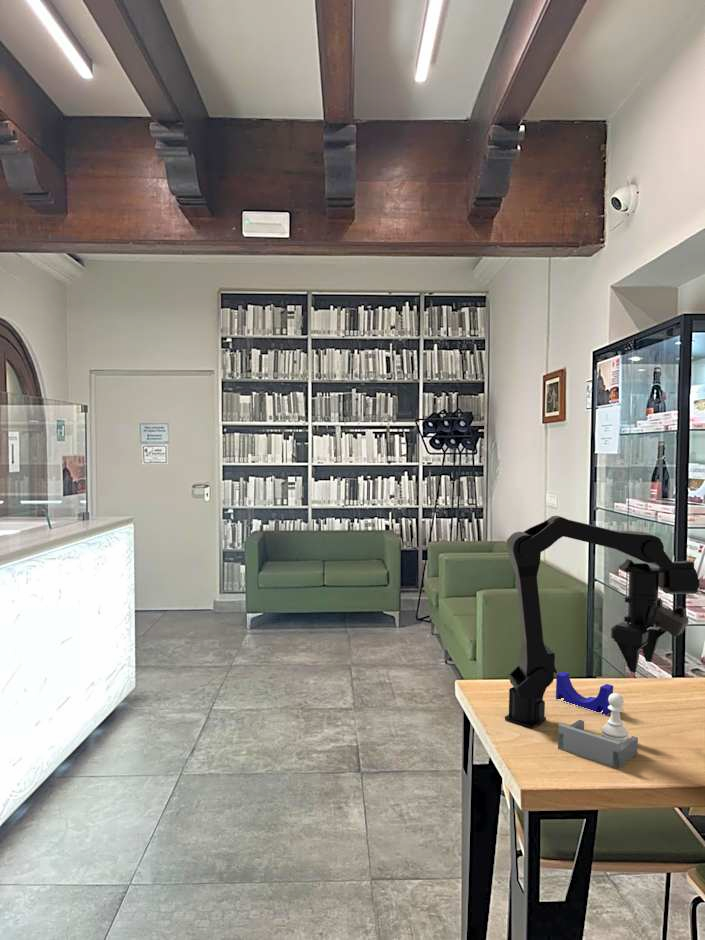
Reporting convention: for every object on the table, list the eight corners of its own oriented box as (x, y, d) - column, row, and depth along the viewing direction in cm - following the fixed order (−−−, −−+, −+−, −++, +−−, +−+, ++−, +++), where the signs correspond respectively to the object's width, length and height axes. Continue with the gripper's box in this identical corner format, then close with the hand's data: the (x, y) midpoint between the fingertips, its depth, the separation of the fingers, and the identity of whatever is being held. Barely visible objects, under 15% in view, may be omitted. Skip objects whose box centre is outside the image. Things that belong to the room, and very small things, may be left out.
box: (557, 748, 129) (558, 725, 129) (579, 734, 136) (579, 712, 136) (617, 768, 121) (618, 744, 121) (637, 753, 128) (638, 729, 128)
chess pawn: (595, 735, 136) (597, 691, 135) (614, 731, 138) (615, 687, 137) (614, 745, 131) (616, 699, 131) (634, 741, 133) (635, 696, 133)
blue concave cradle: (615, 711, 149) (616, 684, 149) (605, 716, 146) (606, 688, 146) (565, 695, 158) (566, 670, 158) (555, 700, 155) (556, 674, 155)
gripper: (669, 606, 129) (666, 687, 130) (698, 592, 143) (695, 665, 143) (611, 597, 136) (608, 673, 137) (643, 584, 150) (641, 653, 151)
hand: (640, 666), depth 142 cm, fingers open, 9 cm apart
